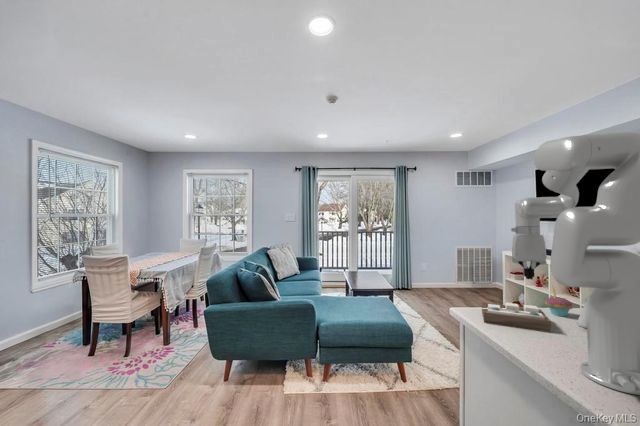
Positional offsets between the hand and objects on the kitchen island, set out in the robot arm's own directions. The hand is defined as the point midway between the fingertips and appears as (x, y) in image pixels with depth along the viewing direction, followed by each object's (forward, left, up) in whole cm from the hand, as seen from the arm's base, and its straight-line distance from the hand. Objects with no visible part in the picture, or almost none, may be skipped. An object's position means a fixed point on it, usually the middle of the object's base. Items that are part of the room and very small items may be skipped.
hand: (529, 278), depth 104 cm
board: (-2, +6, -17) cm, 18 cm away
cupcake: (+16, -12, -17) cm, 27 cm away
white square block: (0, +12, -15) cm, 19 cm away
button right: (0, 0, -13) cm, 13 cm away
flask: (+4, -18, -17) cm, 25 cm away
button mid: (0, +6, -13) cm, 15 cm away
